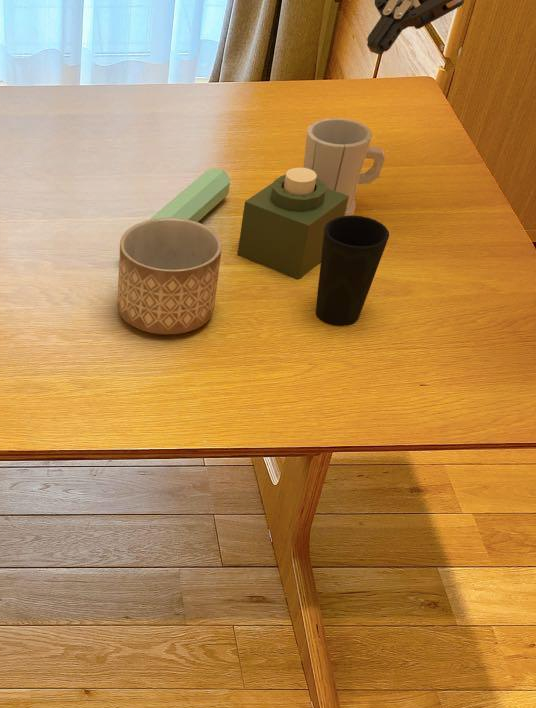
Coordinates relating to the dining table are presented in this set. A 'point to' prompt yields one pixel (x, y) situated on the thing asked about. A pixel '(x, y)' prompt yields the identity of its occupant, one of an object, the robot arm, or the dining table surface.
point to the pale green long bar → (198, 197)
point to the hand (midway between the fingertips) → (373, 50)
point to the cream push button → (300, 181)
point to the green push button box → (288, 226)
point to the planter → (168, 275)
